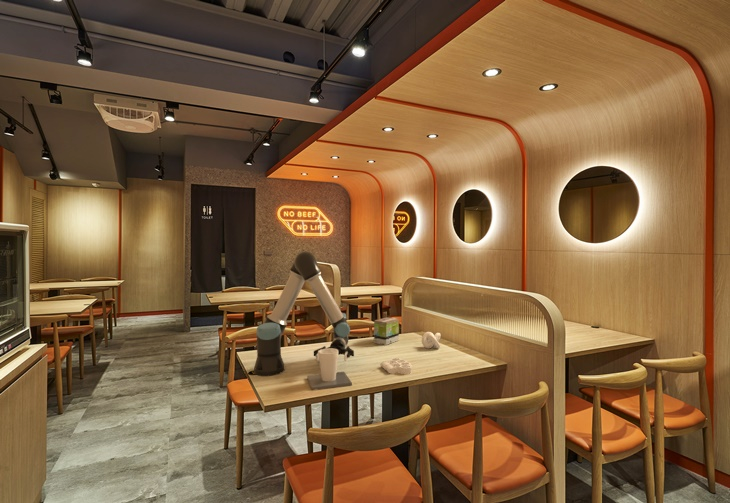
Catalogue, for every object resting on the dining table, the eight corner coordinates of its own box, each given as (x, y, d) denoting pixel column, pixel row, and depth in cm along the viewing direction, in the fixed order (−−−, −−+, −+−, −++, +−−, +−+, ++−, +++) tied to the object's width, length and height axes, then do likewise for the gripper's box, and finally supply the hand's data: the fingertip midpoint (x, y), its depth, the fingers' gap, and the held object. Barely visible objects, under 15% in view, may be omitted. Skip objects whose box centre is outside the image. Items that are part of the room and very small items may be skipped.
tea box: (386, 345, 239) (386, 322, 239) (373, 343, 245) (373, 320, 245) (399, 340, 251) (399, 318, 251) (386, 338, 257) (386, 316, 257)
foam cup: (340, 375, 181) (340, 348, 181) (337, 382, 172) (336, 353, 172) (321, 375, 182) (320, 348, 182) (316, 382, 173) (315, 353, 173)
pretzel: (420, 349, 229) (420, 334, 228) (423, 344, 240) (422, 330, 240) (439, 350, 225) (439, 335, 225) (441, 345, 237) (441, 331, 237)
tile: (311, 390, 167) (311, 387, 167) (307, 378, 182) (307, 375, 182) (351, 385, 172) (351, 382, 172) (344, 374, 187) (344, 371, 187)
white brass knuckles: (378, 366, 200) (403, 362, 204) (391, 377, 183) (418, 373, 187) (378, 359, 200) (403, 356, 204) (391, 370, 183) (418, 366, 187)
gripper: (361, 353, 202) (357, 366, 181) (315, 353, 205) (305, 365, 183) (361, 339, 202) (356, 350, 181) (314, 339, 204) (305, 350, 183)
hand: (330, 358), depth 182 cm, fingers open, 13 cm apart
